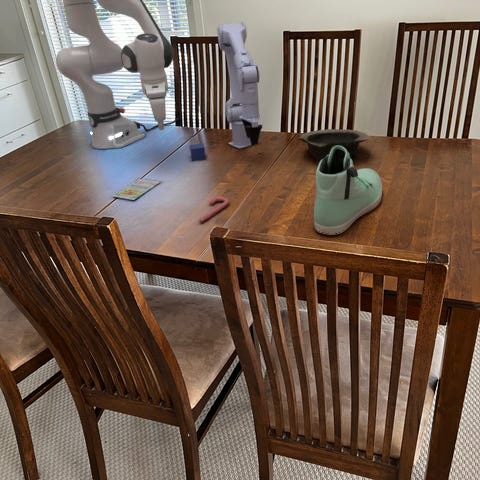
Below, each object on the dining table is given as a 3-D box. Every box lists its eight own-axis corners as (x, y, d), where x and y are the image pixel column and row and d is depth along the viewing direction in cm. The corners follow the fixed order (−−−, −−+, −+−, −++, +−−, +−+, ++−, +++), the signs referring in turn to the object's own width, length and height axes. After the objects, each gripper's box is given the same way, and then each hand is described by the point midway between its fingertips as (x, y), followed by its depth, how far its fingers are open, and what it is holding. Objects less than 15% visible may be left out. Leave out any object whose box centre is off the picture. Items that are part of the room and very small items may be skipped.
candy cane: (186, 219, 140) (185, 215, 139) (217, 198, 150) (217, 194, 149) (202, 224, 137) (201, 219, 136) (233, 202, 147) (232, 198, 146)
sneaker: (389, 187, 148) (396, 123, 138) (356, 242, 123) (361, 168, 112) (346, 181, 154) (350, 119, 144) (306, 232, 129) (307, 161, 118)
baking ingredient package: (111, 195, 156) (139, 178, 167) (112, 196, 156) (139, 179, 168) (133, 199, 152) (160, 181, 164) (133, 200, 153) (160, 182, 164)
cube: (191, 156, 183) (189, 144, 181) (204, 154, 184) (202, 143, 181) (192, 161, 179) (190, 149, 176) (205, 159, 180) (204, 147, 177)
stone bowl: (326, 173, 160) (325, 146, 155) (286, 156, 180) (285, 132, 176) (384, 155, 168) (385, 129, 164) (340, 141, 189) (339, 117, 184)
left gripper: (144, 79, 171) (150, 117, 179) (146, 95, 154) (153, 136, 162) (162, 77, 172) (167, 115, 180) (166, 92, 155) (171, 133, 163)
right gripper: (234, 98, 169) (237, 135, 176) (242, 109, 157) (245, 149, 164) (254, 96, 170) (256, 133, 177) (263, 107, 158) (265, 146, 165)
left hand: (160, 125), depth 170 cm, fingers open, 8 cm apart
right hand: (252, 140), depth 171 cm, fingers open, 7 cm apart
